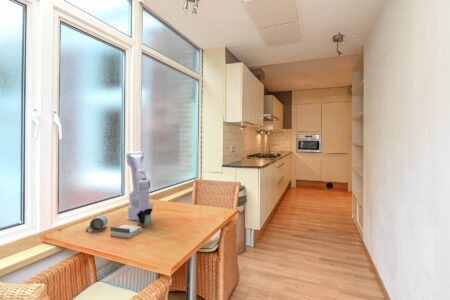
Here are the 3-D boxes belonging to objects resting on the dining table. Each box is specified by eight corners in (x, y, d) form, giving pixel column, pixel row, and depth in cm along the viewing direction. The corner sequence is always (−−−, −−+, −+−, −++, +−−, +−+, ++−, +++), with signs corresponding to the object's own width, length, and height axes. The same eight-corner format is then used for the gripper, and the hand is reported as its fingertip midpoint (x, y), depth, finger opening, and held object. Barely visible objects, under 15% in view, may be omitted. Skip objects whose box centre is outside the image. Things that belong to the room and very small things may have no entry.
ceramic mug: (108, 225, 139) (108, 213, 138) (104, 231, 131) (103, 217, 130) (89, 227, 137) (88, 214, 136) (83, 233, 129) (82, 219, 128)
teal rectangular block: (137, 225, 138) (137, 215, 138) (142, 223, 142) (141, 213, 142) (147, 227, 136) (147, 217, 135) (151, 224, 140) (151, 214, 139)
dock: (110, 235, 124) (110, 227, 124) (124, 228, 134) (124, 220, 134) (128, 238, 120) (128, 229, 120) (141, 231, 130) (141, 223, 130)
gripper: (141, 203, 130) (142, 227, 131) (157, 197, 144) (157, 218, 144) (131, 202, 132) (132, 225, 133) (147, 196, 146) (148, 217, 147)
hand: (144, 222), depth 139 cm, fingers closed on teal rectangular block, 4 cm apart
